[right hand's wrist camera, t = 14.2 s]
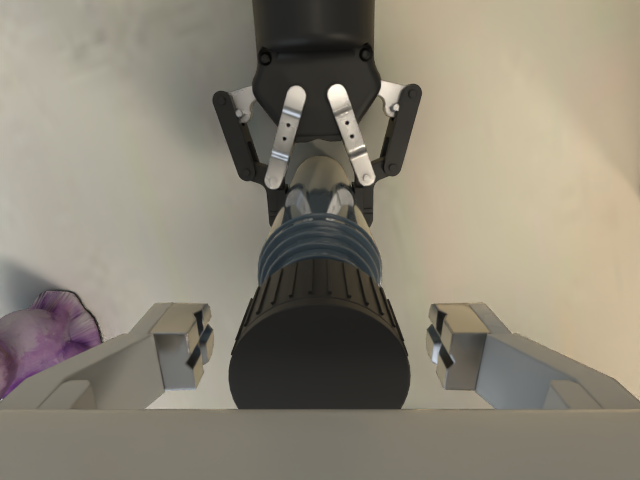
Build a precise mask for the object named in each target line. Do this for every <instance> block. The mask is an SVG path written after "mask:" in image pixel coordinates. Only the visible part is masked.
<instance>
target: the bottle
mask: <svg viewBox="0 0 640 480" xmlns="http://www.w3.org/2000/svg"><path fill="white" fill-rule="evenodd" d="M309 259H331V260H336V261H341V262H346V263H347V264H350V265H352V266H354V267H356V268H360V269H361V270H362V271H363V272H365V273H366V274H367V275H369V276H370V277H371V276H372V277H373V279H374V281H375V282H376V283H377V284H378V286H379V287H381V284H382V262H381V257H380V253H379V250H378V248H377V246H376V243H375V241H374V239H373V236H372V234H371V232H370V229H369V227H368V225H367V222H366V220H365V218H364V215H363V213H362V211H361V208H360V206H359V204H358V201H357V199H356V197H355V194H354V192H353V190H352V187H351V185H350V183H349V180H348V178H347V176H346V173H345V171H344V169H343V167H342V166H341V165H340V164H339V163H338V162H337V161H336V160H334V159H332V158H330V157H327V156H314V157H310V158H308V159H307V160H305V161H304V162H302V163H301V165H300V166H299V167H298V169H297V170H296V173H295V175H294V177H293V179H292V182H291V184H290V186H289V188H288V191H287V193H286V195H285V198H284V200H283V202H282V204H281V207H280V209H279V211H278V213H277V216H276V218H275V220H274V223H273V225H272V227H271V229H270V232H269V234H268V236H267V239H266V241H265V243H264V245H263V248H262V250H261V253H260V256H259V262H258V285H259V287H260V286H261V285H262V283H263V282H264V281H265V280H266V279H267V277H268V276H271V275H272V274H273V273H275V272H276V271H278V270H279V269H280V268H281V267H282V268H283V267H285V266H287V265H290V264H292V263H294V262H296V261H297V262H299V261H302V260H309Z"/></svg>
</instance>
